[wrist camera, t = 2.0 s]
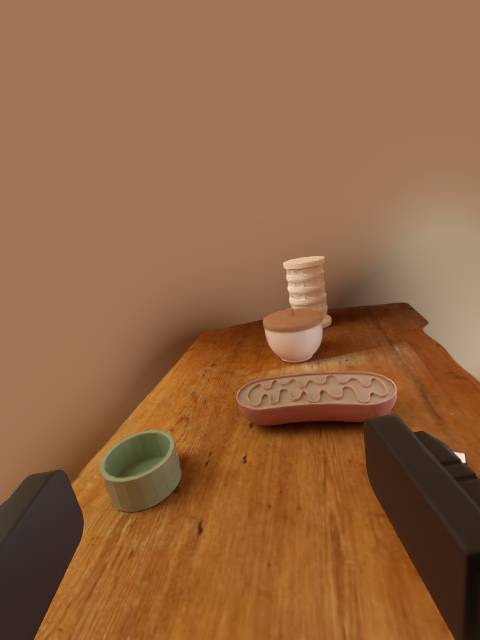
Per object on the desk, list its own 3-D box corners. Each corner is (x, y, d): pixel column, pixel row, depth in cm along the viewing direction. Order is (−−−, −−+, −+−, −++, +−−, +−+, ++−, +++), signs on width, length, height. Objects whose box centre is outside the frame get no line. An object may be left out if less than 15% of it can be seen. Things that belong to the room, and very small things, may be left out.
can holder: (147, 522, 35) (137, 490, 34) (94, 499, 40) (83, 470, 39) (195, 464, 43) (188, 436, 42) (146, 450, 48) (138, 425, 46)
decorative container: (296, 317, 97) (289, 258, 92) (335, 317, 92) (330, 254, 86) (283, 330, 88) (275, 266, 83) (326, 331, 82) (319, 261, 77)
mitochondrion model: (236, 440, 46) (230, 410, 45) (246, 402, 56) (242, 377, 54) (406, 436, 42) (406, 402, 40) (386, 395, 51) (385, 367, 49)
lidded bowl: (308, 340, 78) (303, 297, 75) (337, 357, 66) (333, 307, 63) (260, 353, 75) (253, 309, 72) (282, 374, 64) (275, 322, 60)
